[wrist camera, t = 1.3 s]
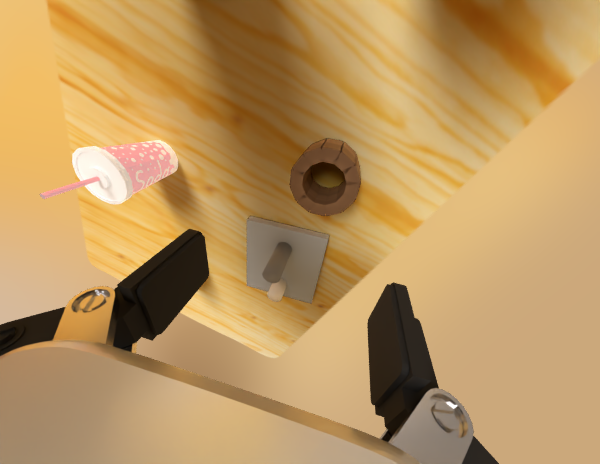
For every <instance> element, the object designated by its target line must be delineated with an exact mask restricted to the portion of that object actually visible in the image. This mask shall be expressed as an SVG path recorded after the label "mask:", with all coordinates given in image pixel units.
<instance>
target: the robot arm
mask: <svg viewBox="0 0 600 464" xmlns="http://www.w3.org/2000/svg"><path fill="white" fill-rule="evenodd" d="M208 276H209V268H208V260H207V252H206V244H205V237H204V236H203V235H202V233H201V232H199V231H195V230H192V229H188V230H187V231H185V232H184V233H183V234H182V235H180V236H179V237H178V238H176V239H175V240H174V241H173V242H171V243H170V244H169V245H168V246H166V247H165V248H164V249H162V250H161V251H160V252H159V253H157V254H156V255H155V256H153V257H152V258H151V259H150V260H148V261H147V262H146V263H144V264H143V265H142V266H141V267H139V268H138V269H137V270H136V271H134V272H133V273H132V274H130V275H129V276H128V277H127V278H125V279H124V280H123V281H121V282H120V283H119V284H118V287H117V288H115V290H113V289H112V288H110V287H108V286H98V287H93V288H90V289H87V290H85V291H83V292H80V293H79V294H77V295H76V296H74V297H73V298H72V299H71V300H70V301H69V302H68V304H67V305H66V307H63V308H60V309H56V310H52V311H48V312H44V313H41V314H37V315H33V316H30V317H26V318H22V319H18V320H15V321H11V322H7V323H4V324H1V325H0V464H499V463H498V462H497V461H496V460H495V459H494V458H493V457H492V456H491V454H490V453H489V452H488V451H487V450H486V449H485V448H484V447H483V446H482V444H480V442H479V441H478V440H477V439H476V438H475V437H474V436H473V433H474V431H473V425H472V422H471V419H470V417H469V415H468V413H467V411H466V410H465V408H464V407H463V406H462V404H461V403H460V402H459V401H458V400H457V399H456V398H455V397H454V396H452V395H451V394H450V393H448V392H446V391H444V390H442V389H439V387H438V384H437V380H436V377H435V373H434V369H433V366H432V362H431V359H430V355H429V351H428V348H427V344H426V341H425V337H424V334H423V330H422V327H421V324H420V321H419V320H418V319H416V318H414V314H413V310H412V306H411V302H410V298H409V294H408V291H407V288H406V286H404V285H400V284H396V283H392V284H391V285H387V286H386V287H385V289H384V291H383V293H382V295H381V297H380V299H379V300H378V302H377V304H376V306H375V308H374V310H373V311H372V313H371V315H370V317H369V319H368V347H369V370H370V391H371V403H372V404H373V405H375V411H376V415H379V416H382V417H384V420H385V427H386V428H387V429H386V431H385V432H384V433H383V435H382V436H381V438H380V439H379V438H376V437H374V436H372V435H369V434H367V433H364V432H362V431H359V430H357V429H354V428H351V427H348V426H346V425H343V424H340V423H337V422H335V421H332V420H329V419H327V418H323V417H321V416H318V415H315V414H312V413H309V412H306V411H304V410H301V409H298V408H295V407H292V406H289V405H286V404H283V403H280V402H278V401H275V400H272V399H269V398H266V397H263V396H260V395H257V394H254V393H252V392H249V391H246V390H243V389H240V388H236V387H234V386H231V385H228V384H225V383H222V382H219V381H216V380H213V379H210V378H208V377H205V376H201V375H198V374H196V373H193V372H190V371H187V370H184V369H181V368H178V367H175V366H172V365H169V364H166V363H163V362H160V361H157V360H154V359H151V358H148V357H145V356H142V355H139V354H136V347H137V341H138V340H139V339H140V338H141V337H143V338H146V339H149V340H153V339H154V338H155V337H156V336H157V335H159V334H161V333H162V332H163V331H164V330H165V329H166V328H167V327H168V325H169V324H170V323H171V322H172V320H173V319H174V318H175V317H176V316H177V315H178V313H179V312H180V311H181V310H182V309H183V307H184V306H185V305H186V304H187V303H188V301H189V300H190V299H191V298H192V296H193V295H194V294H195V293H196V292H197V290H198V289H199V288H200V287H201V286H202V284H203V283H204V282H205V281H206V280H207V278H208Z"/></svg>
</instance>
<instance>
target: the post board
mask: <svg viewBox="0 0 600 464" xmlns="http://www.w3.org/2000/svg"><path fill="white" fill-rule="evenodd" d="M328 239H329V235H328V234H323V233H319V232H315V231H311V230H307V229H303V228H299V227H294V226H290V225H286V224H282V223H278V222H274V221H270V220H265V219H261V218H257V217H253V216H250V217H249V218H248V219H247V286H250V287H253V288H257V289H260V290H264V291H268V294H267V296H268V298H269V299H270V300H272V301H274V302H279V301H281V299H282V297H283V296H286V297H289V298H293V299H296V300H300V301H304V302H307V303H312V300H313V296H314V292H315V288H316V285H317V281H318V277H319V273H320V269H321V266H322V262H323V258H324V254H325V251H326V247H327V243H328Z"/></svg>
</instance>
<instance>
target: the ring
mask: <svg viewBox="0 0 600 464" xmlns="http://www.w3.org/2000/svg"><path fill="white" fill-rule="evenodd" d="M320 162H327V163H331V164H335V165H336V166H337V167H338V168H339V169H340V170H341V171H343V173H344V176H345V180H344V181H343V182H342V183H341V184H340V185H339V186H336V187H333V188H326V187H321V186H320V185H319V184H317V183H316V182H315V181H314V180H313V177H312V174H311V165H314V164H317V163H320ZM360 184H361V178H360V166H359V162H358V158H357V154H356V152H355V151H354V150H353V149H352V148H351V147H350V146H349V145H347V144H346V143H345V142H344V143H343V141H340V140H335V139H330V138H328V139H327V138H326V139H324V140H321V141H319V142H316V143H313V144H312V145H311V146H310V147H309V148H308V149H307V150H306V151H305V152H304V153H303V154H302V156H301V157H300V158H299V159H298V161H297V162H296V163H295V165H294V166H293V167H292V169H291V178H290V185H291V186H290V188H291V191H292V193H293V195H294V198H295V200H296V201H297V200H298V201H297V203H298V204H300V205H301V206H302V207H303V208H304V209H306V210H307V211H308V212H309V211H310V213H314V214H318V215H322V216H325V214H326V216H329V215H333V214H337V213H341V212H342V211H344V210H345V209H347V208H348V207H349V206H350V205H351V204H352V203H353V202H354V201H355V200H356V197H357V194H358V191H359V187H360Z"/></svg>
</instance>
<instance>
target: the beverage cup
mask: <svg viewBox="0 0 600 464" xmlns="http://www.w3.org/2000/svg"><path fill="white" fill-rule="evenodd" d="M72 163H73V166H74V169H75V172H76V174H77V176H78V177H79V179H80V182H76V183H73V184H70V185H67V186H64V187H61V188H57V189H54V190H51V191H47V192H44V193H41V194H40V196H41V197H42V198H43V199H46V198H49V197H52V196H55V195H57V194H61V193H64V192H67V191H70V190H73V189H76V188H79V187H82V186H85V187H86V188H87V189H88V190H89V191H90V192H91V193H92V194H93V195H95V196H96V197H98V198H99V199H101V200H102V201H105V202H107V203H110V204H121V203H123V202H124V201H126V200H128V199H129V198H130V197H131V196H132V195H133V194H135V193H137V192H139V191H140V190H142V189H144V188H146V187H148V186H150V185H152V184H154V183H156V182H157V181H159V180H161V179H163V178H165V177H167V176H169V175H171V174H173V173H174V172H175V171H176V170H177V168H178V159H177V156H176V154H175V152H174V151H173V150H172V148H171V147H170V146H169V145H167V144H166V143H165V142H162V141H160V140H155V141H147V142H140V143H132V144H125V145H118V146H110V147H103V148H98V147H96V146H92V147H84V148H78V149H77V150H76V151H75V152H74V153H73V159H72Z"/></svg>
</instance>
